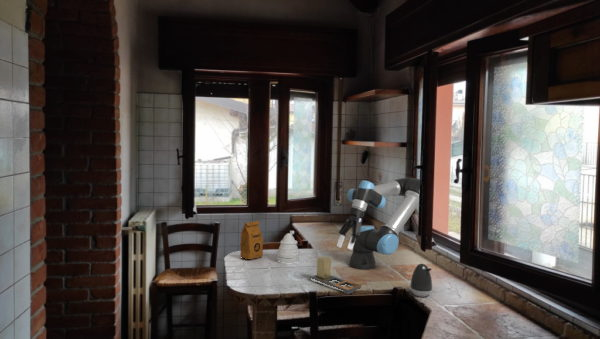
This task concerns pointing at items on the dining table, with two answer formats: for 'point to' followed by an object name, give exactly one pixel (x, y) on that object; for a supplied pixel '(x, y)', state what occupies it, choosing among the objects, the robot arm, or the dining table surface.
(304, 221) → the dining table surface
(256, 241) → the coffee package
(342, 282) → the rail
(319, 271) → the brass peg
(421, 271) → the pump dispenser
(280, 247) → the honey pot
